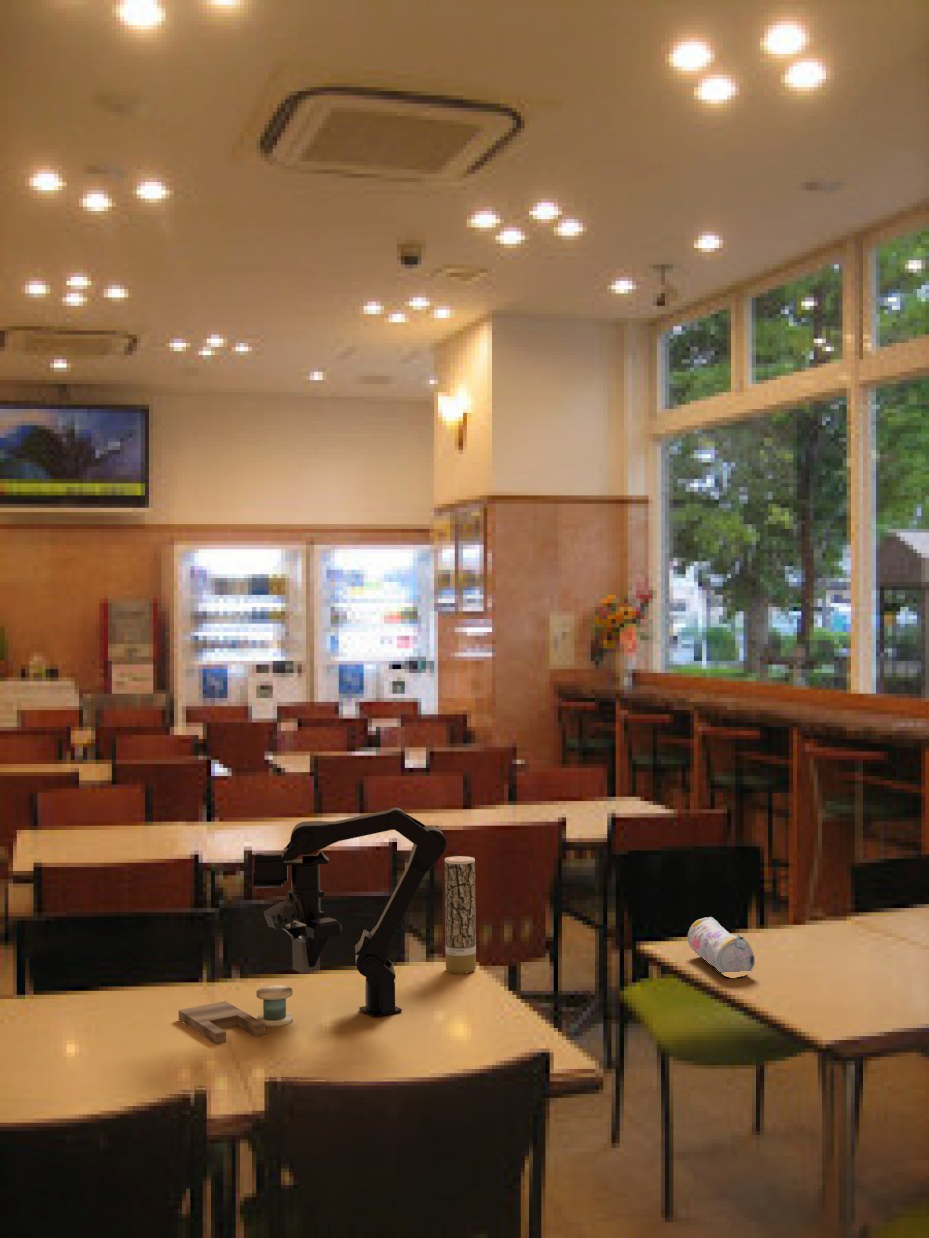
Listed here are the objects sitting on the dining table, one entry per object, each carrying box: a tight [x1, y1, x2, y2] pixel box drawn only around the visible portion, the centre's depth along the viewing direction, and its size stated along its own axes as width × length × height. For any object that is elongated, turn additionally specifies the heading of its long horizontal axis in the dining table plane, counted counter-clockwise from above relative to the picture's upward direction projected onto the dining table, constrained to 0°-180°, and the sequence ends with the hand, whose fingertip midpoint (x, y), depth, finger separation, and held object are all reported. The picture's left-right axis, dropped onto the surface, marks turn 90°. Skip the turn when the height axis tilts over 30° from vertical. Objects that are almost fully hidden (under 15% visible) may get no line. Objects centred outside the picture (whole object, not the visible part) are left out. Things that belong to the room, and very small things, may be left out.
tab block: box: [291, 936, 321, 974], centre depth 255 cm, size 4×4×6 cm
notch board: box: [178, 1000, 266, 1045], centre depth 248 cm, size 18×10×2 cm, turn 35°
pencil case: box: [687, 916, 756, 973], centre depth 287 cm, size 21×9×10 cm, turn 10°
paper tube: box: [444, 855, 477, 974], centre depth 286 cm, size 7×7×25 cm
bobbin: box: [255, 985, 294, 1028], centre depth 251 cm, size 7×7×6 cm
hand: (306, 964), depth 255 cm, fingers closed on tab block, 4 cm apart
